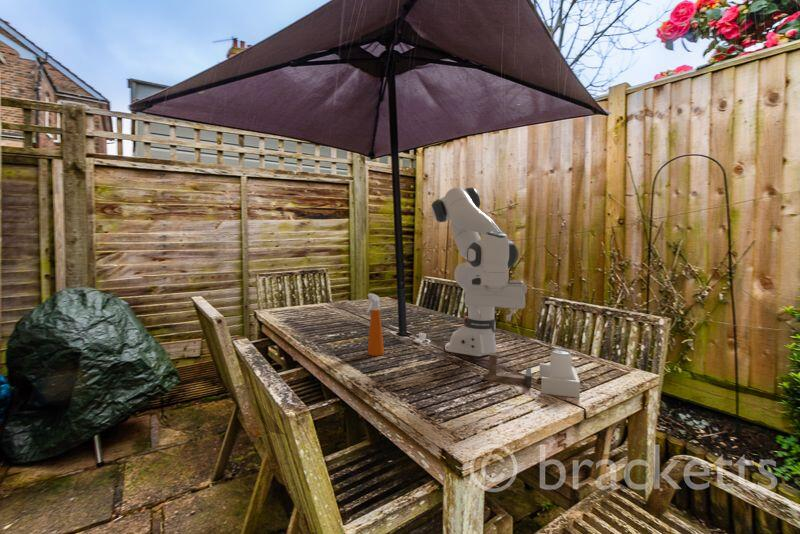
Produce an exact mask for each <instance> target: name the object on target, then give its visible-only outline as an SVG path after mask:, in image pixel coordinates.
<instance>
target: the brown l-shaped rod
mask: <svg viewBox="0 0 800 534" xmlns="http://www.w3.org/2000/svg"><path fill="white" fill-rule="evenodd" d="M488 357H489V358H488V371H484V372H483V380H484V381H492V382H502V383H510V384H518V385H519V384H520V385H525V388H526V389H532V368H530V367H526V368H525V375H521V374H520V375H518V374H509V373H502V372H501V373H500V372H498V352H496V353H490V354H489V355H488Z"/></svg>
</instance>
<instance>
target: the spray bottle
mask: <svg viewBox="0 0 800 534" xmlns="http://www.w3.org/2000/svg"><path fill="white" fill-rule="evenodd" d="M367 297H368V305H367V309H366V311H365V313H366V314H368V313H369V312H370V317H369V318H370V320H369V321H370V322H369V330H368V331H369V332H368V342H367V343H368V345H367V354H368V355H369V356H372V357H373V356H374V357H375V356H376V357H377V356H382V355H384V354H385V348H384V337H383V329H382V318H381V317H382V315H381V309H380V307H381V306H380V301H381V298H380V296H379V295H377V294H375V293H373V292H372V293H368V294H367Z"/></svg>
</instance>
